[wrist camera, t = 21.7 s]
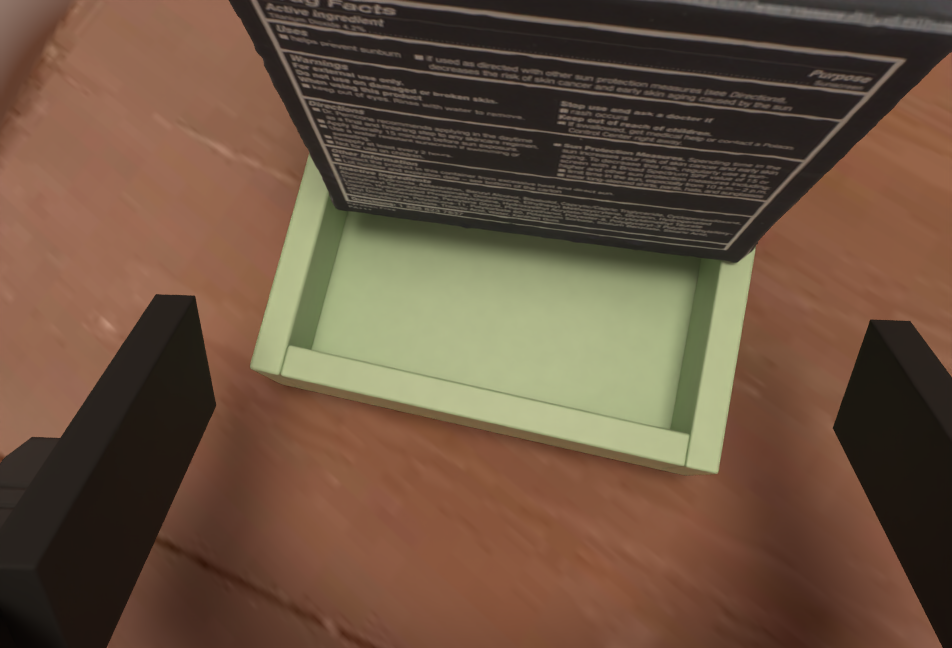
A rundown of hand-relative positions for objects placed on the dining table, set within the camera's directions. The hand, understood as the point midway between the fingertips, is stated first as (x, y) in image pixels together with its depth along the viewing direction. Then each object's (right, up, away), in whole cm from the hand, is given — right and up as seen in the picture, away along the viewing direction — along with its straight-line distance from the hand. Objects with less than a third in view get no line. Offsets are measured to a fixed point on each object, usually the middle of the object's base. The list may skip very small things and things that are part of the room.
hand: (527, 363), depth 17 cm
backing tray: (+1, +5, +8) cm, 10 cm away
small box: (+1, +6, +5) cm, 8 cm away
